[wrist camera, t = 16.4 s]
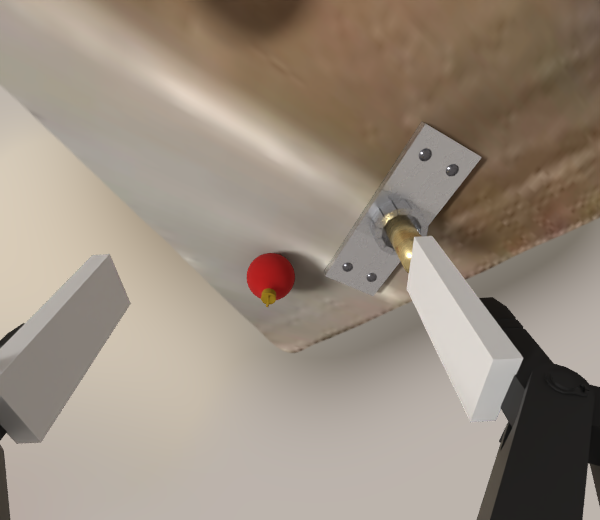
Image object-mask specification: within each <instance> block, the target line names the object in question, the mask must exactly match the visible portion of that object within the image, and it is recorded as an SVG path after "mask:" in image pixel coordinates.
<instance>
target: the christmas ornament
mask: <svg viewBox="0 0 600 520" xmlns="http://www.w3.org/2000/svg"><path fill="white" fill-rule="evenodd" d="M294 280H295V274H294V269H293V267H292V265H291V263H290V262H289V261H288V260H287V259H286V258H285V257H283V256H281V255H279V254H275V253H267V254H263V255H260V256H259V257H257V258H256V259H255V260H253V262H252V263H251V264H250V266H249V268H248V271H247V283H248V286H249V288H250V290H251V291H252V292H253V294H254V295H256V296H257V297H258V298H260V299H261V300H262V302H263V303H265V304H266V307H268V306H269V304H273V303H274V302H275V301H276V300H279V299H281V298H283V297H285V296H286V295H287V294H288V293H289V292H290V290H291V289H292V287H293V284H294Z"/></svg>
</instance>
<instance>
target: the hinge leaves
mask: <svg viewBox="0 0 600 520" xmlns="http://www.w3.org/2000/svg"><path fill="white" fill-rule="evenodd" d="M481 158H482V157H480V156H479V155H477V154H475V153H474V152H472V151H470V150H469V149H467V148H465V147H464V146H462V145H460V144H459V143H457V142H455V141H454V140H452V139H450V138H449V137H447V136H445V135H444V134H442V133H440V132H439V131H437V130H435V129H434V128H432V127H430V126H429V125H427V124H425V123H424V122H421V123H420V125H419V126H418V128H417V129H416V131H415V132H414V134H413V135H412V137H411V138H410V140H409V142H408V143H407V145H406V146H405V148H404V149H403V151H402V152H401V154H400V155H399V157H398V158H397V160H396V161H395V163H394V165H393V166H392V168H391V169H390V171H389V172H388V174H387V175H386V177H385V178H384V180H383V181H382V183H381V184H380V186H379V188H378V189H377V191H376V192H375V194H374V195H373V197H372V198H371V200H370V201H369V203H368V204H367V206H366V208H365V209H364V211H363V212H362V214H361V215H360V217H359V218H358V220H357V221H356V223H355V224H354V226H353V227H352V229H351V231H350V232H349V234H348V235H347V237H346V238H345V240H344V241H343V243H342V244H341V246H340V247H339V249H338V250H337V252H336V254H335V255H334V257H333V258H332V260H331V261H330V263H329V264H328V266H327V267H326V269H325V270H324V272H325V276H326V277H328V278H331V279H333V280H336V281H338V282H341V283H343V284H345V285H348V286H350V287H353V288H355V289H357V290H360V291H362V292H365V293H367V294H370V295H372V296H374V294H375V293H376V292H377V291H378V289H379V288H380V287H381V286H382V284H383V283H384V282H385V280H386V279H387V278H388V277H389V275H390V274H391V273H392V271H393V270H394V269H395V268H396V266H397V265H398V264H399V263H400V259H399V257H398V255H397V253H396V251H395V249H394V248H393V246H392V244H391V242H390V240H389V238H388V236H387V234H386V232H385V230H384V228H383V227H384V226H385V225H386V223H387V222H388V220H390V219H392V218H394V217H396V216H397V215H407V216H408V218H409V219H410V221H411V222H412V223H413V225H414V226H415V228H416V229H417V230H418V232H419V233H420V235H421V236H427V231H428V226H429V224H430V223H431V222H432V220H433V219H434V218H435V217H436V215H437V214H438V213H439V211H440V210H441V209H442V208H443V206H444V205H445V204H446V203H447V201H448V200H449V199H450V197H451V196H452V195H453V194H454V192H455V191H456V190H457V188H458V187H459V186H460V185H461V183H462V182H463V181H464V180H465V178H466V177H467V176H468V174H469V173H470V172H471V171H472V169H473V168H474V167H475V165H476V164H477V163H478V162H479V160H480V159H481Z"/></svg>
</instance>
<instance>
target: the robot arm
mask: <svg viewBox="0 0 600 520" xmlns="http://www.w3.org/2000/svg"><path fill="white" fill-rule="evenodd" d="M407 290H408V292H409V294H410V297H411V299H412V301H413V303H414V305H415V307H416V309H417V311H418V313H419V315H420V318H421V319H422V322H423V324H424V326H425V328H426V330H427V332H428V334H429V337H430V339H431V341H432V343H433V345H434V347H435V349H436V351H437V353H438V356H439V358H440V360H441V362H442V364H443V366H444V368H445V370H446V372H447V374H448V377H449V379H450V381H451V383H452V385H453V387H454V389H455V391H456V394H457V396H458V397H459V400H460V402H461V404H462V406H463V408H464V410H465V412H466V415H467V417H468V418H469V421H470V422H480V421H482V422H483V421H496V419H497V417H498V414H499V412H500V410H501V409H502V411H503V413H504V414H505V416H506V418H507V420H508V424H507V426H506V428H505V430H504V432H503V434H502V436H501V438H500V440H499V442H501V444H500V447H499V450H498V453H497V457H496V460H495V463H494V466H493V470H492V473H491V476H490V479H489V482H488V485H487V488H486V492H485V495H484V498H483V501H482V504H481V508H480V511H479V514H478V517H477V520H582V517H583V507H584V497H585V487H586V476H587V466H588V463H589V464H590V466H591V470H592V475H593V479H594V484H595V488H596V492H597V496H598V501H599V505H600V387H597V386H593V385H589V383H588V382H587V381H586V380H585V379H584V378H583V377H581V376H580V375H579V374H578V373H576V372H574V371H572V370H570V369H568V368H566V367H564V366H560V365H557V364H554V363H553V362H552V361H551V360H550V359H549V357H548V356H547V355H546V354H545V353H544V351H543V350H542V349H541V348H540V347H539V345H538V344H537V343H536V342H535V341H534V339H533V338H532V337H531V336H530V335H529V333H528V332H527V331H526V330H525V329H523V326H522V325H521V324H520V323H519V321H518V320H516V319H515V316H514V315H513V314H512V313H511V312H510V310H508V308H507V307H506V306H505V305H503V304H502V303H500V302H499V301H497V300H496V299H494V298H493V297H490V298H478V297H477V295H476V294H475V292H474V291H473V290H472V288H471V287H470V286H469V284H468V283H467V282H466V280H465V279H464V278H463V276H462V275H461V274H460V272H459V271H458V270H457V268H456V267H455V266H454V264H453V263H452V262H451V260H450V259H449V258H448V256H447V255H446V254H445V252H444V251H443V250H442V248H441V247H440V246H439V244H438V243H437V242H436V240H435V239H434V238H433V236H421V237H414V242H413V248H412V255H411V262H410V269H409V276H408V283H407ZM129 305H130V301H129V298H128V296H127V294H126V291H125V289H124V287H123V284H122V282H121V280H120V277H119V275H118V272H117V270H116V268H115V265H114V263H113V261H112V259H111V256H110V254H106V255H92V256H91V257H90V258H89V259H88V260H87V261H86V262H85V263H84V264H83V265H82V266H81V267H80V268H79V269H78V270H77V271H76V272H75V273H74V274H73V275H72V276H71V277H70V278H69V279H68V280H67V281H66V283H64V284H63V285H62V286H61V288H59V289H58V290H57V291H56V293H55V294H54V295H53V296H52V297H51V298H50V299H49V300H48V301H47V302H46V303H45V304H44V305H43V306H42V307H41V308H40V309H39V310H38V311H37V312H36V313H35V314H34V315H33V316H32V317H31V318H30V319H29V320H28V321H27V322H26V323H23V324H21V325H20V326H18V327H17V328H15V329H14V330H12V331H11V332H9V333H8V334H7V335H6V336H5V337H4V338H3V339H1V340H0V440H1V439H2V438H3V436H4V435H5V434H6V433H7V434H8V435H9V436H10V437H11V438H12V439H13V440H14V441H15V442H16V443H17V444H18V443H38V442H42V440H43V439H44V437H45V435H46V434H47V432H48V431H49V429H50V427H51V426H52V424H53V423H54V422H55V420H56V418H57V417H58V415H59V414H60V412H61V411H62V409H63V408H64V406H65V404H66V403H67V401H68V400H69V398H70V396H71V395H72V394H73V392H74V391H75V389H76V387H77V386H78V384H79V383H80V381H81V380H82V378H83V377H84V375H85V373H86V372H87V370H88V369H89V367H90V366H91V364H92V363H93V361H94V359H95V358H96V356H97V355H98V353H99V352H100V350H101V348H102V347H103V346H104V344H105V343H106V341H107V339H108V338H109V336H110V335H111V333H112V332H113V330H114V329H115V327H116V325H117V324H118V322H119V321H120V319H121V318H122V316H123V315H124V313H125V312H126V310H127V308H128V307H129ZM0 520H10V512H9V501H8V491H7V480H6V469H5V459H4V451H3V448H2V447H1V445H0Z"/></svg>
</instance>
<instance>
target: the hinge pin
mask: <svg viewBox="0 0 600 520" xmlns="http://www.w3.org/2000/svg"><path fill="white" fill-rule="evenodd" d="M383 228H384V230H385V232H386V234H387V236H388V238H389V240H390V242H391V244H392V246H393V248H394V249H395V251H396V253H397V255H398V257H399V259H400V261H401V263H402V265H403V267H404V269H405V270H406V272H407V273H409V269H410V262H411V255H412V248H413V242H414V237H421V235H420V233H419V232H418V230H417V229H416V228H415V226H414V225H413V223H412V222H411V221H410V219H409V218H408V216H407V215H397V216H396V217H394V218H392V219H390V220H388V222H387V223H386V225H385V226H384V227H383Z"/></svg>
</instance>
